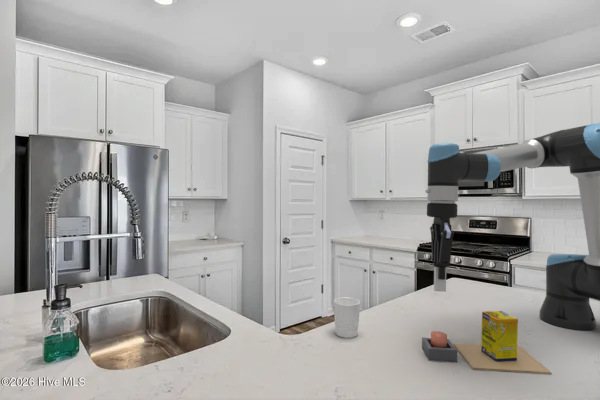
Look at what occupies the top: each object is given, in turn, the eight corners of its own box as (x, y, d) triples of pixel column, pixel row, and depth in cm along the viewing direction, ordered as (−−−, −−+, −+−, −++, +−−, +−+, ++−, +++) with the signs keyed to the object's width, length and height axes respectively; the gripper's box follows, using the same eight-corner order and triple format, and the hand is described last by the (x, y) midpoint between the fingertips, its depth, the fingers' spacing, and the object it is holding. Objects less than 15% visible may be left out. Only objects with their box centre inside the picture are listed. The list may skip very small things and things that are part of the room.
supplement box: (480, 351, 93) (481, 311, 92) (500, 350, 93) (501, 310, 93) (496, 362, 87) (496, 319, 87) (517, 361, 88) (518, 318, 87)
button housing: (448, 349, 95) (448, 338, 95) (457, 362, 88) (457, 350, 88) (421, 348, 95) (422, 337, 95) (428, 360, 88) (428, 348, 88)
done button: (444, 344, 93) (444, 331, 93) (449, 351, 89) (449, 337, 89) (429, 343, 94) (429, 331, 94) (433, 350, 90) (433, 337, 90)
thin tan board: (520, 348, 96) (520, 346, 96) (551, 374, 82) (551, 372, 82) (453, 344, 98) (453, 343, 98) (472, 369, 84) (472, 367, 84)
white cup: (359, 340, 100) (359, 306, 100) (332, 337, 102) (332, 304, 102) (359, 329, 108) (360, 298, 108) (334, 327, 110) (335, 296, 109)
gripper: (421, 201, 98) (419, 283, 99) (434, 202, 86) (431, 296, 86) (448, 202, 98) (446, 285, 98) (465, 203, 85) (463, 298, 85)
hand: (439, 290), depth 92 cm, fingers closed
